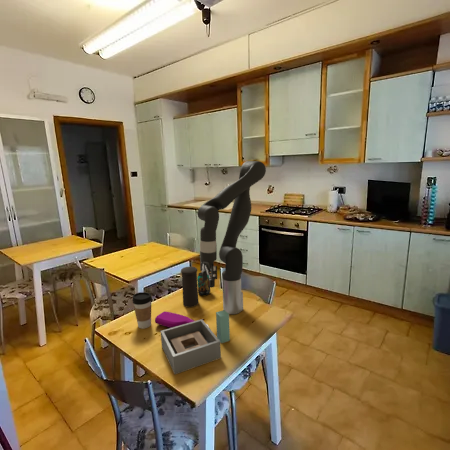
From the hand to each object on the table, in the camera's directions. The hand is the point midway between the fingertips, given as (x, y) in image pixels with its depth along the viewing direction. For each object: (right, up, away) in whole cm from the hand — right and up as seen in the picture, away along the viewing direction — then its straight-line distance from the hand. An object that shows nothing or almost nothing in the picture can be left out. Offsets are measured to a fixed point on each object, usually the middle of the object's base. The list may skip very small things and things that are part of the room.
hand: (208, 283), depth 129 cm
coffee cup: (-30, -20, +1) cm, 36 cm away
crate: (-6, -23, -19) cm, 30 cm away
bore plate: (-6, -23, -19) cm, 30 cm away
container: (-10, -15, +20) cm, 27 cm away
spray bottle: (-12, -19, -1) cm, 22 cm away
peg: (+7, -21, -12) cm, 25 cm away
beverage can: (-4, -12, +32) cm, 35 cm away
